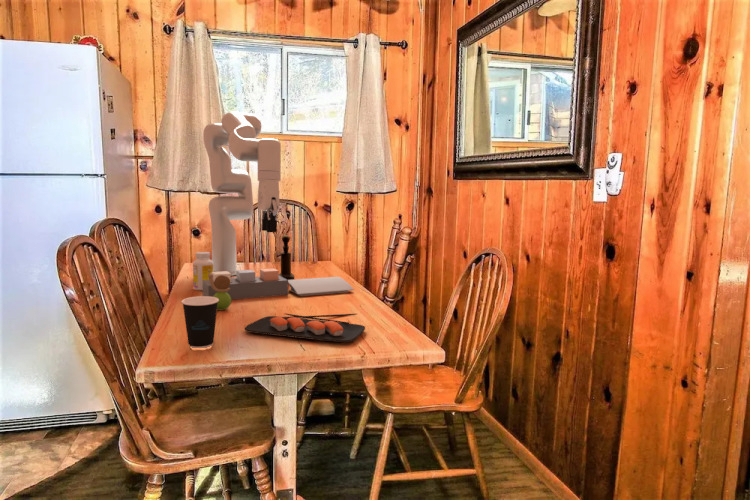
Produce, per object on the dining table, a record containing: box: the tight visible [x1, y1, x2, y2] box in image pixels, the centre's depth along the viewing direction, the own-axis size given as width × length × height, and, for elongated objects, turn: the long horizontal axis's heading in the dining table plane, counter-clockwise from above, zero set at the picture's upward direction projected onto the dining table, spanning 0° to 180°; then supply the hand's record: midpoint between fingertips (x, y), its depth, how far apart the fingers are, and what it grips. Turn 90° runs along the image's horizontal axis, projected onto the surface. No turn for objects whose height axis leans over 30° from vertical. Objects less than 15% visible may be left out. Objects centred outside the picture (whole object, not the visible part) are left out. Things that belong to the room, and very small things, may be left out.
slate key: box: [235, 269, 256, 282], centre depth 168 cm, size 5×5×4 cm
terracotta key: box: [259, 267, 280, 281], centre depth 172 cm, size 5×5×4 cm
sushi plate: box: [244, 313, 366, 343], centre depth 135 cm, size 29×30×4 cm
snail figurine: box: [208, 270, 232, 311], centre depth 147 cm, size 5×6×12 cm
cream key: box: [212, 271, 232, 283], centre depth 164 cm, size 5×5×4 cm
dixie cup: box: [181, 295, 219, 348], centre depth 114 cm, size 8×8×11 cm
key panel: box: [202, 276, 289, 301], centre depth 168 cm, size 10×26×5 cm, turn 119°
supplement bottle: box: [192, 251, 213, 291], centre depth 176 cm, size 7×7×13 cm
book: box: [288, 276, 355, 297], centre depth 178 cm, size 15×23×4 cm, turn 117°
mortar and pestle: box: [279, 234, 295, 280], centre depth 193 cm, size 7×6×18 cm
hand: (269, 230), depth 170 cm, fingers open, 4 cm apart
